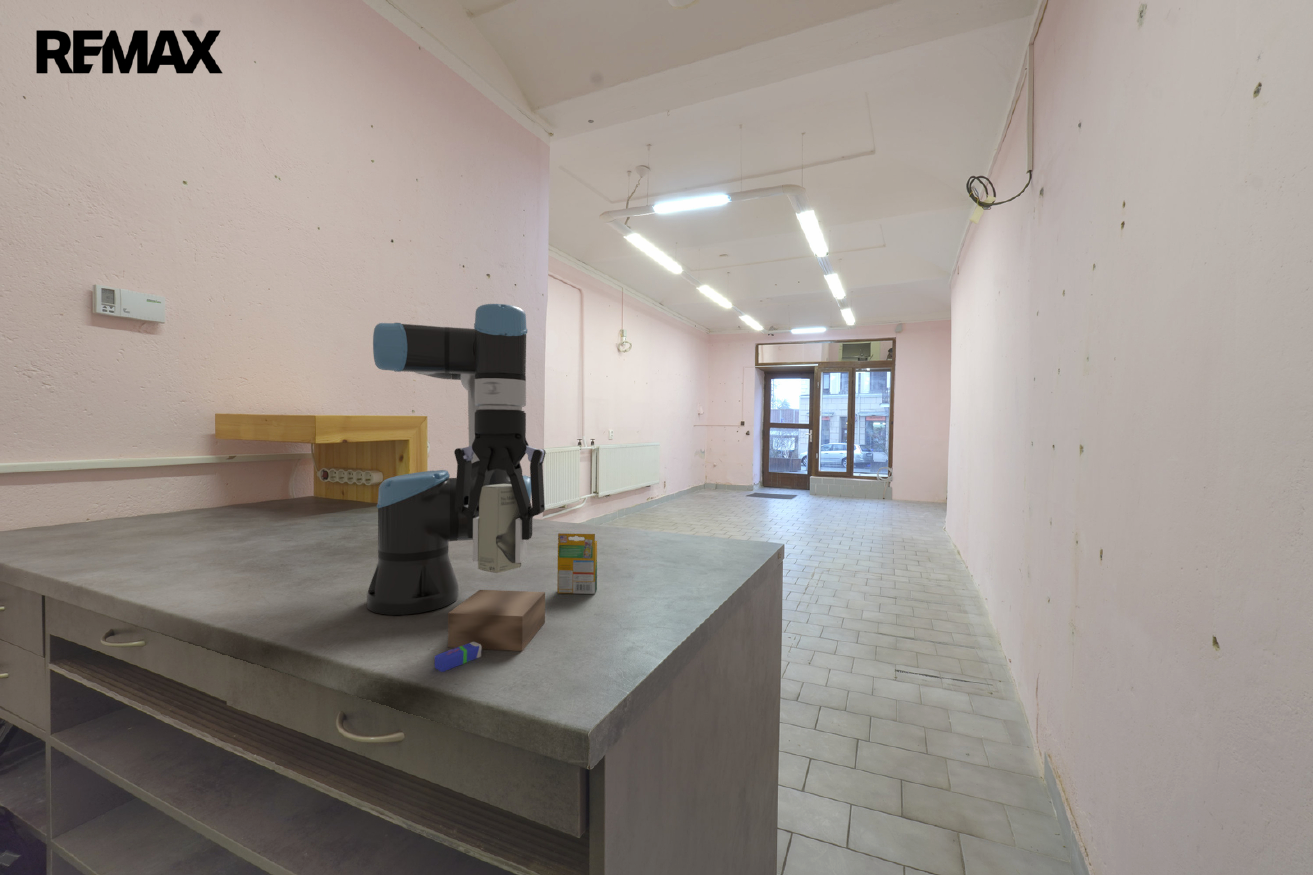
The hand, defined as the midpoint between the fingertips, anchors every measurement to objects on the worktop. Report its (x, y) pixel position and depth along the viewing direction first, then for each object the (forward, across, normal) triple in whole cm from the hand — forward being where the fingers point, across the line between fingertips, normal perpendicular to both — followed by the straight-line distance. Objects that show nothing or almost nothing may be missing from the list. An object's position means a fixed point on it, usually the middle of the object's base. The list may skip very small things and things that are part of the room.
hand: (499, 559), depth 82 cm
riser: (+12, 0, 0) cm, 12 cm away
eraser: (+12, -2, -10) cm, 16 cm away
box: (+2, 0, 0) cm, 2 cm away
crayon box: (+12, +7, +22) cm, 26 cm away
